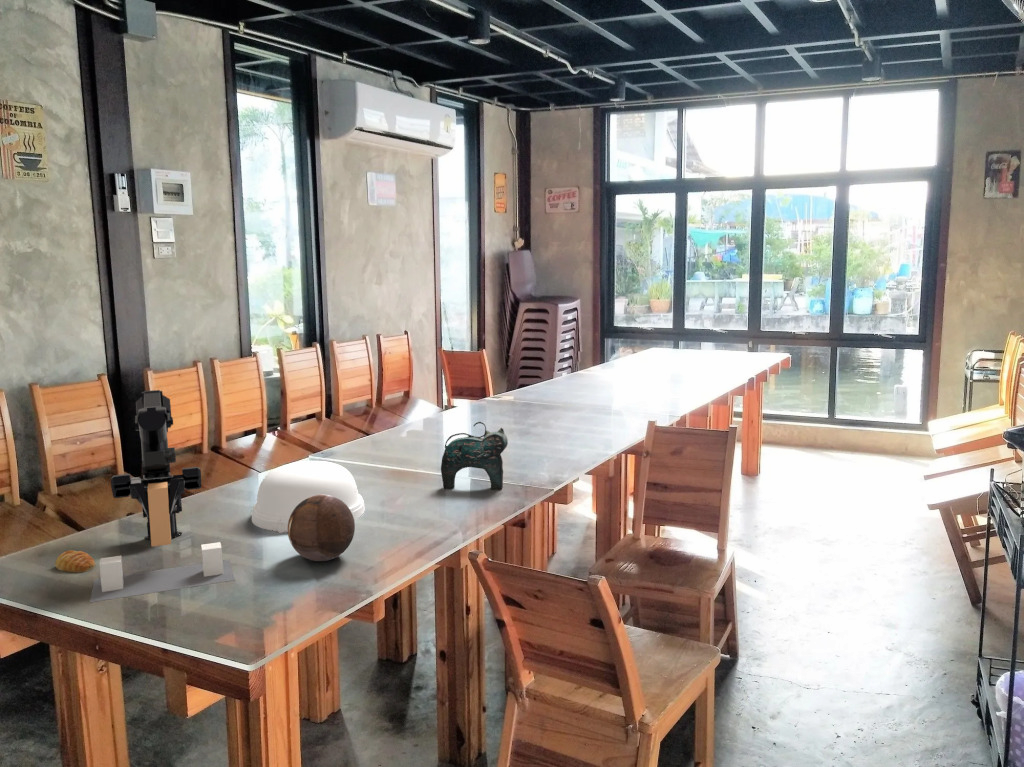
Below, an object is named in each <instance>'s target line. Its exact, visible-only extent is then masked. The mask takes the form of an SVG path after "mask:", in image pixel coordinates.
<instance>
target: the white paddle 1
mask: <svg viewBox="0 0 1024 767" xmlns="http://www.w3.org/2000/svg"><path fill="white" fill-rule="evenodd" d="M122 560H123V559H122V555H115V556H108V557H101V558H100V560H99V563H98V564H99V575H100V578H101V586H102V592H105V591H112V590H119V589H123V585H124V580H123V575H124V572H123V571H124V569H123V561H122Z"/></svg>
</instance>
